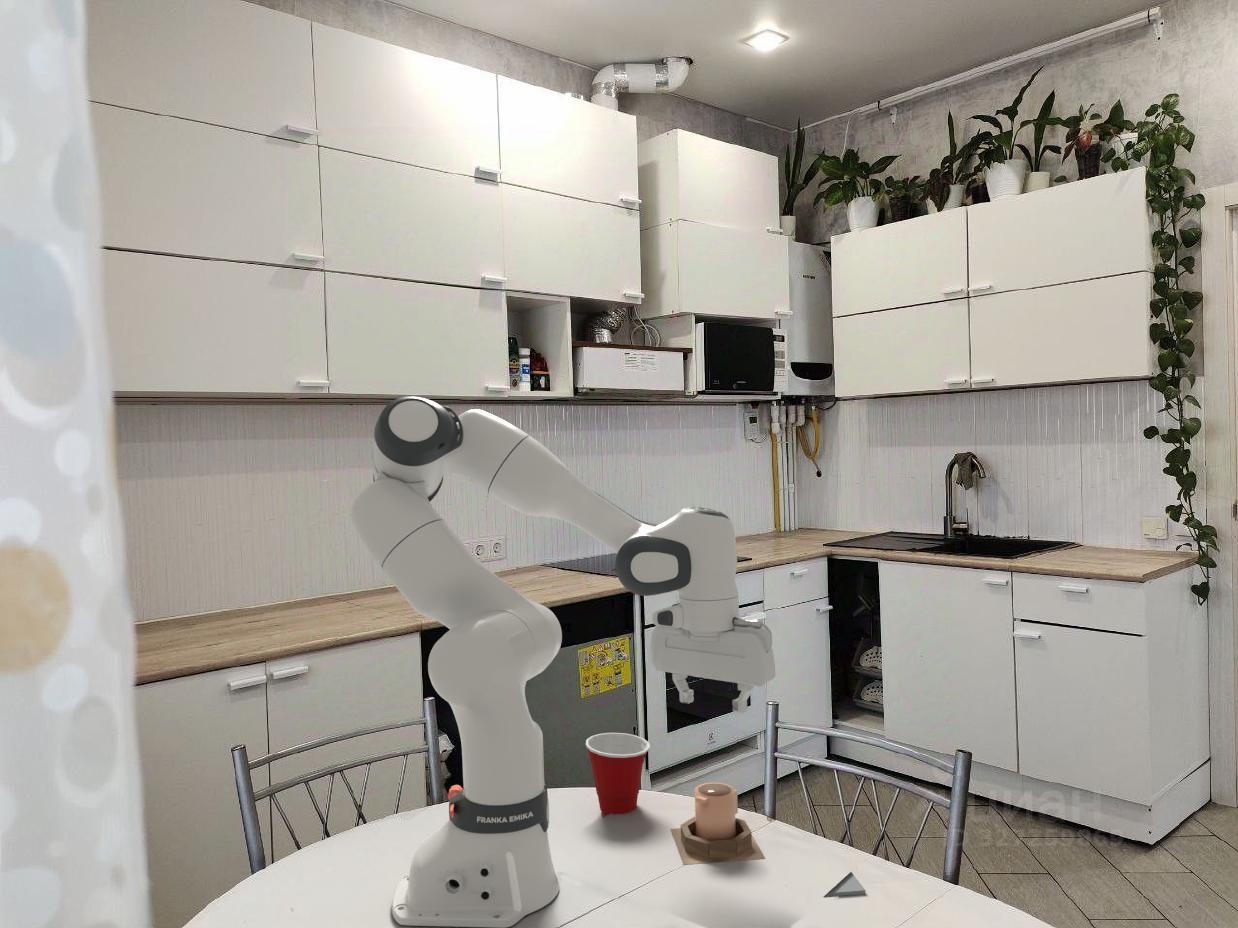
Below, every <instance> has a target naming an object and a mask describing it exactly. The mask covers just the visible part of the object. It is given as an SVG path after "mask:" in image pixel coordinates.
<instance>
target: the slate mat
mask: <svg viewBox="0 0 1238 928" xmlns="http://www.w3.org/2000/svg"><path fill="white" fill-rule="evenodd" d="M855 895H856V896H857V895H866V889H865V888H864V887H863V885H862V884H861V883H860V881H859V880H858V878H857V877H856V876H855V875H854V873H853V872H852V871H850V872H849V873H848V874H847V875H846V876H844V878H842V879H841V880H840V881H839V882H838V883H837V884H836V885H835V886H833V887H832V888H831V889H830V890H829V891H828V892H827V893H826V894H825V895H824V896H823V898H831V897H842V896H843V897H844V896H845V897H846V896H855Z"/></svg>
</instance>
